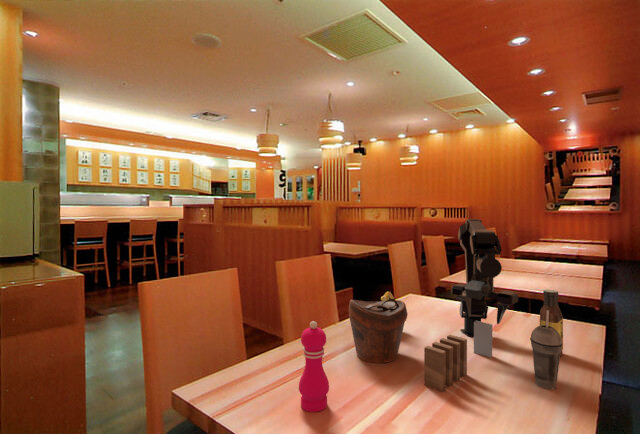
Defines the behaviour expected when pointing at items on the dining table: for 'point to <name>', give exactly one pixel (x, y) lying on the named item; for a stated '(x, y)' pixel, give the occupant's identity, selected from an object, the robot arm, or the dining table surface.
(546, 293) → the sauce bottle
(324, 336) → the pepper mill
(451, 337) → the domino
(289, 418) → the dining table surface
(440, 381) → the domino
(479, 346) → the domino
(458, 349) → the domino
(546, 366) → the beverage cup
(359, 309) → the brown wooden tapered container
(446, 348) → the domino
